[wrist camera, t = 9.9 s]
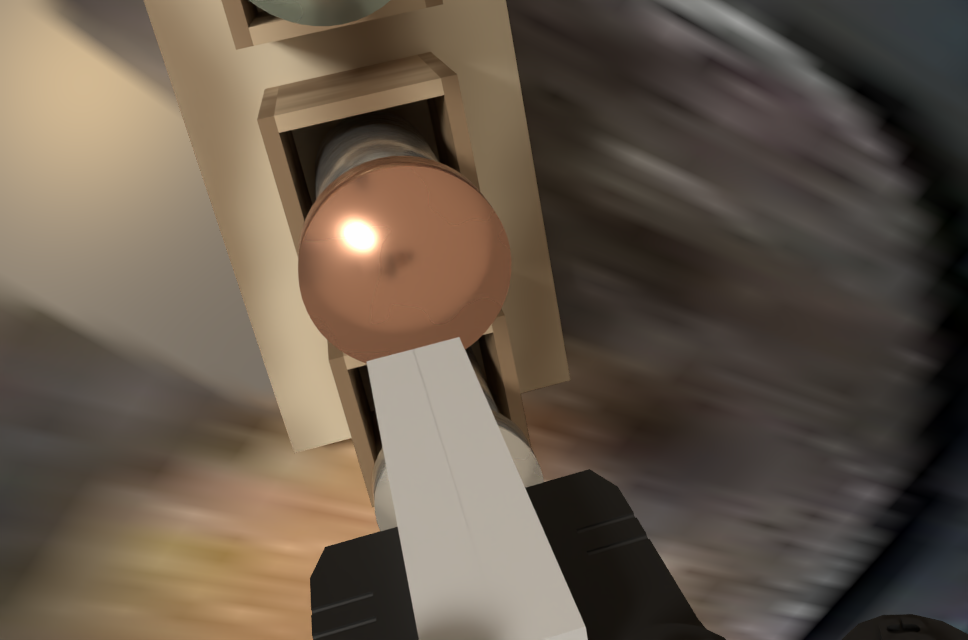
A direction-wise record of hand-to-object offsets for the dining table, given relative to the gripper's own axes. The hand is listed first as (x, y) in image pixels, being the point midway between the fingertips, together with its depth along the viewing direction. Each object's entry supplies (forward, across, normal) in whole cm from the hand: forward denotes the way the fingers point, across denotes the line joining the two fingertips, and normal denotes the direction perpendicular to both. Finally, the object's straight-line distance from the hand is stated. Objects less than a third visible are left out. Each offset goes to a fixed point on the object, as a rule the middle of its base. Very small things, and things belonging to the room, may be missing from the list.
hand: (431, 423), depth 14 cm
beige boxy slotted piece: (+22, +1, 0) cm, 22 cm away
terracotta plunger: (+17, +1, 0) cm, 17 cm away
